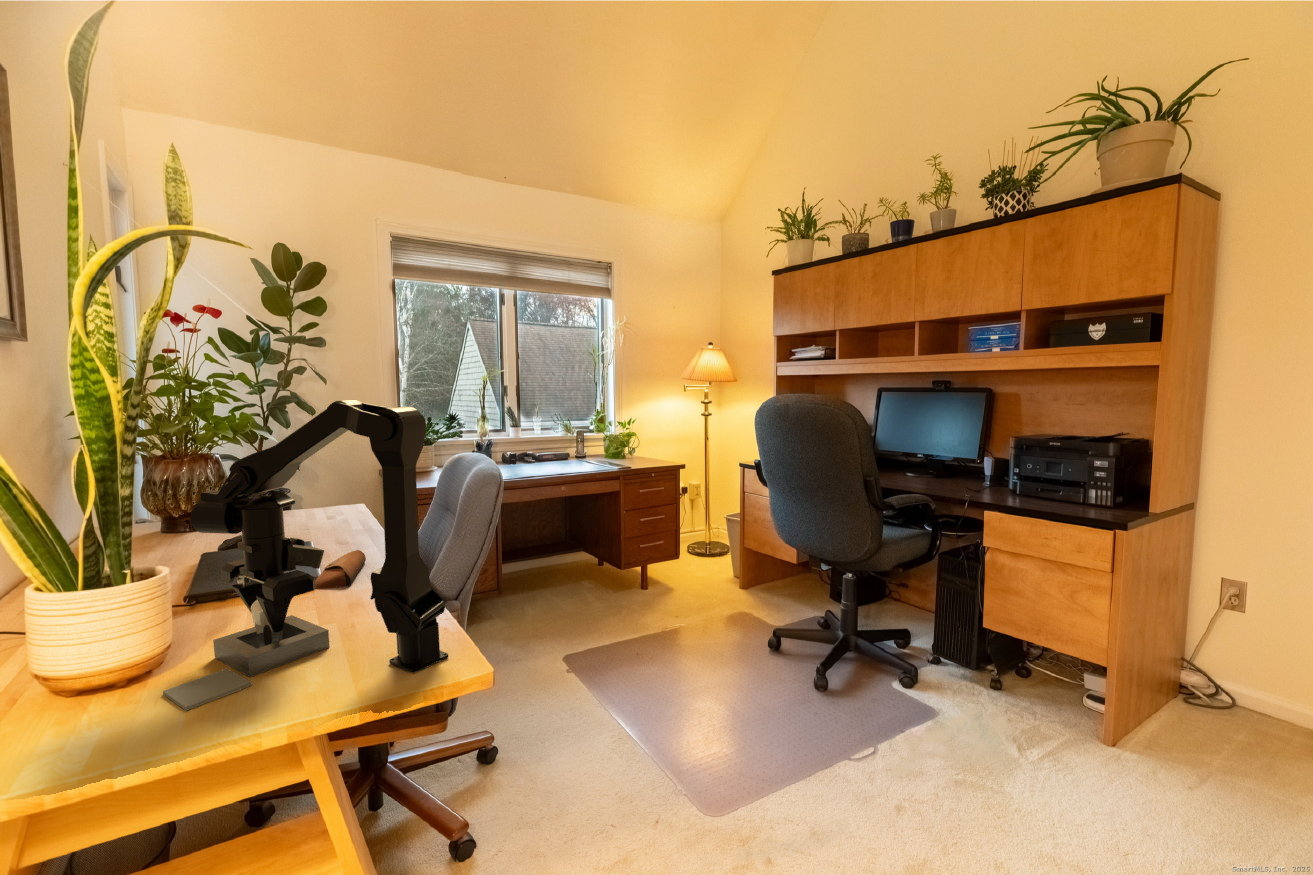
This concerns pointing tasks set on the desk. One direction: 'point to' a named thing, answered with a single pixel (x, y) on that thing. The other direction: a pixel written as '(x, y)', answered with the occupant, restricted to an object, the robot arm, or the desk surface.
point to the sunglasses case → (341, 571)
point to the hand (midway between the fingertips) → (270, 628)
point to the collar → (270, 647)
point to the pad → (206, 689)
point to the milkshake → (263, 627)
